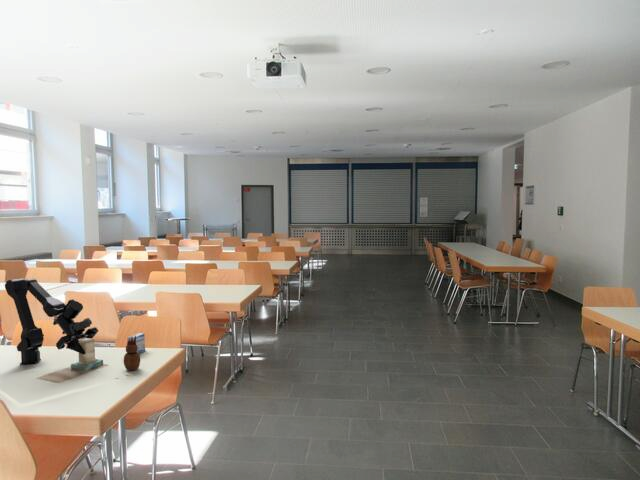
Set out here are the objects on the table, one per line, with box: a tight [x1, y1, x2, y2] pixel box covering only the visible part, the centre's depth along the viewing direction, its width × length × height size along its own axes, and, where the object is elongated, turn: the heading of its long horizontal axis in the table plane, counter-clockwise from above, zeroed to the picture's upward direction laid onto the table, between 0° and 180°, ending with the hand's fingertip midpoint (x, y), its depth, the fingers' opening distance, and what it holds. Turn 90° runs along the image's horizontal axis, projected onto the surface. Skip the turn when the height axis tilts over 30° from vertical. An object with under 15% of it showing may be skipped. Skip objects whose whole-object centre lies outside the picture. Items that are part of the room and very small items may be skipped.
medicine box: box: [127, 332, 146, 354], centre depth 228 cm, size 8×4×9 cm, turn 168°
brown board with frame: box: [36, 358, 109, 384], centre depth 199 cm, size 24×14×3 cm, turn 154°
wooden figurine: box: [123, 334, 141, 372], centre depth 203 cm, size 7×6×15 cm
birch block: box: [78, 338, 96, 365], centre depth 204 cm, size 4×4×11 cm
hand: (89, 352), depth 204 cm, fingers closed on birch block, 4 cm apart
